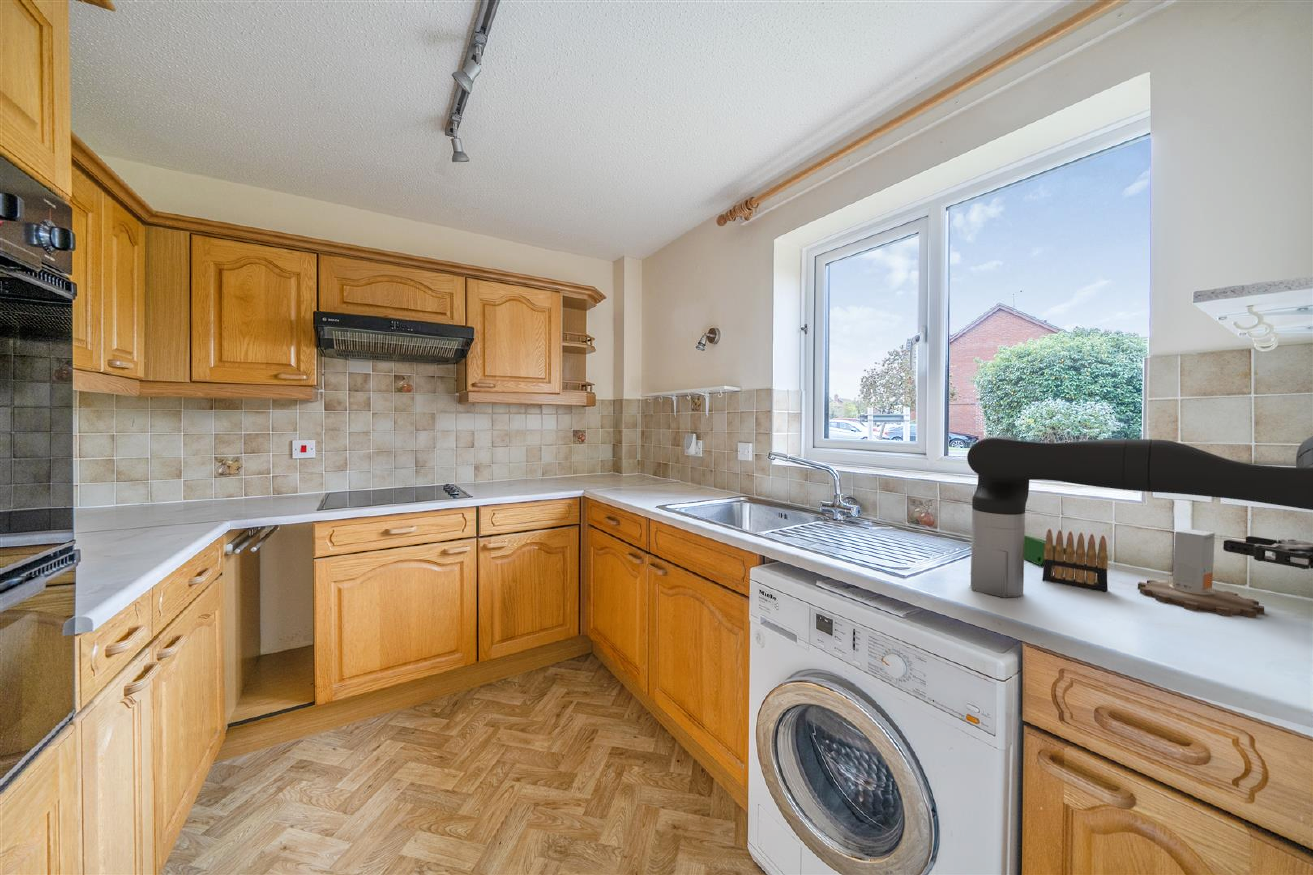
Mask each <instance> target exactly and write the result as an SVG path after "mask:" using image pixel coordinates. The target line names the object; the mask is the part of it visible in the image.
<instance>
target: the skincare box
mask: <svg viewBox="0 0 1313 875" xmlns="http://www.w3.org/2000/svg"><path fill="white" fill-rule="evenodd" d="M1215 536H1216V533H1215V532H1212V531H1204V530H1200V529H1192V528H1184V529H1180V530H1176V531H1174V549H1173V553H1174V554H1173V570H1172V581H1173V587H1174V588H1178V589H1182V590H1187V591H1192V592H1196V593H1203V592H1205V591H1208V590H1211V589H1213V581H1214V580H1213V579H1214V576H1213V575H1214V558H1215V556H1214V555H1215V538H1216V537H1215Z"/></svg>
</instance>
